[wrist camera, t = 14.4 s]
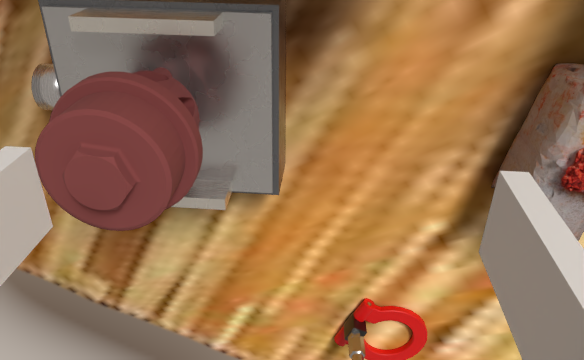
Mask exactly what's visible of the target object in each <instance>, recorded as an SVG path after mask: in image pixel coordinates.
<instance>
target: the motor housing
mask: <svg viewBox="0 0 584 360" xmlns="http://www.w3.org/2000/svg"><path fill="white" fill-rule="evenodd" d="M38 2H39V6H40V10H41V14H42V19H43V23H44V27H45V32H46V36H47V40H48V45H49V49H50V53H51V57H52V62H53V64H40V65H38V66H37V67H36V69H35V71H34V73H33V76H32V93H33V97H34V99H35V101H36V103H37V105H38V106H39V107H40V108H42V109H44V110H53V108H54V106H55V104H56V103H57V101H58V100H59V98H60V97H61V96H62V95H63V94H64V93H65V92H66V91H67V90H68V89H70V88H71V87H73V86H74V85H76V84H77V83H78V82H80V81H81V80H83V79H85V78H87V77H89V76H92V75H95V74H98V73H103V72H128V73H134V72H138V71H145V70H150V71H153V70H154V69H156V68H158V67H163V68H166V69H167V70H169V71H170V73H171V74H172V77H173V78H174V79H176V80H178V81H179V82H180V83H181V84H182V85H184V86H185V87H186V89H187V90H188V91H189V92H190V93H191V95H192V97H193V98H194V100H195V102H196V105H197V107H198V111H199V118H200V122H199V132H200V136H201V139H202V146H203V159H202V164H201V168H200V171H199V173H198V176H197V178H196V180H195V182H194V184H193V186H192V187H191V189H190V190H189V192H188V193H187V194H186V195H185V196H184V197H183V198H182V200H180V201H179V202H178V203H176V204H175V205H173V206H171V207H182V208H200V209H218V210H226V208H227V205H228V202H229V199H230V197H231V194H232V192H234V193H253V194H271V195H279V192H280V187H281V182H282V177H283V172H284V167H285V119H286V0H38Z"/></svg>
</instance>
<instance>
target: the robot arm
mask: <svg viewBox="0 0 584 360" xmlns="http://www.w3.org/2000/svg"><path fill="white" fill-rule="evenodd" d="M52 227H53V225H52V221H51V218H50V214H49V211H48V207H47V204H46V200H45V196H44V193H43V189H42V186H41V182H40V178H39V175H38V171H37V168H36V164H35V161H34V157H33V153H32V150H31V148H30V147H10V146H5V147H4V148H2V149H1V150H0V286H1V285H2V284H3V283H4V281H6V279H7V278H8V277H9V276H10V275H11V274H12V273H13V271H14V270H15V269H16V268H17V267H18V266H19V265H20V263H21V262H22V261H23V260H24V259H25V258H26V257H27V256H28V254H29V253H30V252H31V251H32V250H33V249H34V248H35V246H36V245H37V244H38V243H39V242H40V241H41V240H42V238H43V237H44V236H45V235H46V234H47V233H48V232H49V230H50V229H51V228H52ZM479 254H480V256H481V259H482V261H483V264H484V266H485V269H486V271H487V273H488V276H489V278H490V281H491V283H492V286H493V288H494V291H495V293H496V296H497V298H498V301H499V303H500V305H501V308H502V310H503V313H504V315H505V318H506V320H507V323H508V325H509V328H510V330H511V333H512V335H513V337H514V340H515V342H516V345H517V347H518V350H519V352H520V355H521V357H522V360H584V249H583V247H582V246H581V245H580V243H579V242H578V240H577V239H576V238H575V236H574V235H573V233H572V232H571V231H570V229H569V228H568V226H567V225H566V224H565V222H564V221H563V219H562V218H561V217H560V215H559V214H558V212H557V211H556V210H555V208H554V207H553V205H552V204H551V203H550V201H549V200H548V198H547V197H546V196H545V194H544V193H543V191H542V190H541V188H540V187H539V186H538V184H537V183H536V181H535V180H534V179H533V177H532V176H531V174H530V173H529V172H516V171H499V175H498V179H497V183H496V187H495V191H494V195H493V199H492V203H491V206H490V210H489V214H488V218H487V222H486V226H485V230H484V234H483V238H482V242H481V245H480V249H479Z"/></svg>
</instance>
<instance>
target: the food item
mask: <svg viewBox="0 0 584 360" xmlns="http://www.w3.org/2000/svg"><path fill="white" fill-rule="evenodd" d="M499 171H516V172H529V173H530V174H531V176H532V177H533V179H534V180H535V181H536V183H537V184H538V186H539V187H540V188H541V190H542V191H543V193H544V194H545V196H546V197H547V198H548V200H549V201H550V203H551V204H552V205H553V207H554V208H555V210H556V211H557V212H558V214H559V215H560V217H561V218H562V219H563V221H564V222H565V224H566V225H567V226H568V228H569V229H570V231H571V232H572V233H573V235H574V236H575V238H576V239H577V240H579V239H580V237H581V235H582V233H583V232H584V65H582V64H575V63H562V64H556V65H555V66H554V68H553V69H552V71H551V73H550V75H549V76H548V78H547V80H546V81H545V83H544V85H543V87H542V88H541V90H540V92H539V93H538V95H537V97H536V99H535V101H534V103H533V105H532V107H531V109H530V111H529V114H528V116H527V118H526V119H525V121H524V123H523V125H522V127H521V129H520V131H519V132H518V134H517V136H516V138H515V139H514V141H513V143H512V145H511V147H510V149H509V151H508V153H507V155H506V157H505V160H504V161H503V163H502V165H501V167H500V169H499ZM499 171H498V173H497V175H496V177H495V179H494V181H493V184H492V186H491V187H492V188H493V187H494V188H495V187H496V183H497V179H498V175H499Z"/></svg>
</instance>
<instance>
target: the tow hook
mask: <svg viewBox="0 0 584 360" xmlns="http://www.w3.org/2000/svg"><path fill="white" fill-rule="evenodd" d="M387 320H393V321H399V322H402V323H404V324H406V325H407V326H409V327H410V329H411V330H412V337H411V339H410V340H409V341H408V343H406V344H405V345H404V346H402V347H399V348H397V349H392V350H381V349H377V348H374V347H372V346H370V345H369V344H368V343H367V342H366V341H365V339H364V336H365V334H366V333H367V331H366V322H365V321H368V322H370V323H378V322H381V321H387ZM334 340H335V342H336V343H337V344H338V345H339V346H344V345H345V344H347V345H348V347H349V356H350V358H351V359H352V360H364V358H365V359H367V360H406V359H408V358H411V357H413V356H414V355H416V354H417V353H418V352H419V351H420V350H421V349H422V348H423V347H424V345H425V343H426V341H427V329H426V326H425V323H424V321H423V320H422V319H421V318H420V316H419V315H417V314H416V313H414V312H413V311H411V310H408V309H405V308H403V307H395V306H384V307H379V306H377V305H375V304H374V302H373V301H372V300H370V299H367V298H366V299H364V301H363V302H362V303H361V304H360V306H359V307H358V308H357V309H356V311H354V312H353V313H352V314H351V315H350V317H349V318H348V319H347V320H346V322H345V323H344V326H343V327H342V328H341V330H340V331H339V332H338V333H337V335H336V336H335V337H334Z"/></svg>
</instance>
